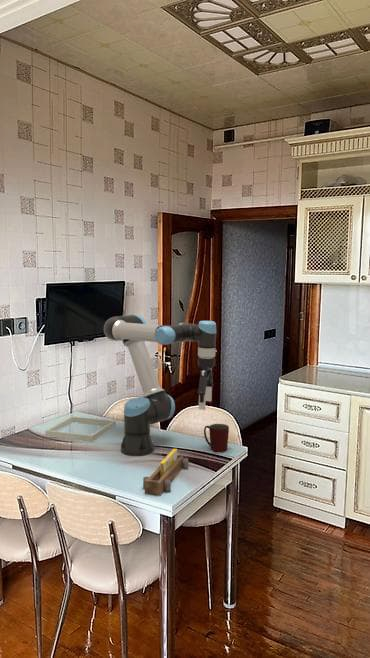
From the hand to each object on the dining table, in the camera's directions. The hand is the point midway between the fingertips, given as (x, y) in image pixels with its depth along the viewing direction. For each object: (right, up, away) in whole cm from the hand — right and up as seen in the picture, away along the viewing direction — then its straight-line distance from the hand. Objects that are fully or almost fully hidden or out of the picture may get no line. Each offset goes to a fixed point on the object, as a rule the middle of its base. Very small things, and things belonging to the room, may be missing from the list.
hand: (205, 405), depth 215 cm
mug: (+5, -23, +13) cm, 27 cm away
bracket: (-17, -26, -20) cm, 37 cm away
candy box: (-15, -26, -15) cm, 34 cm away
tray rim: (-62, -19, +39) cm, 76 cm away
